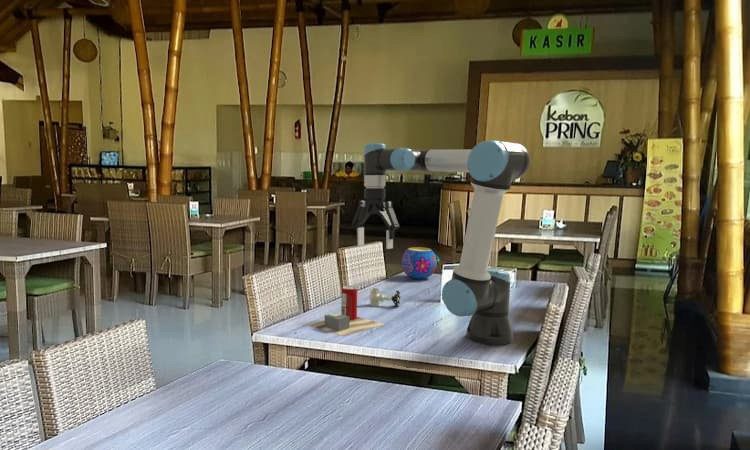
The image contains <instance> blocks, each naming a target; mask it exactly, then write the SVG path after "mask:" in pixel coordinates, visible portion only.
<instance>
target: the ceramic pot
mask: <svg viewBox="0 0 750 450" xmlns="http://www.w3.org/2000/svg"><path fill="white" fill-rule="evenodd" d="M439 264H440V258H439V256H438V255H436V254H435V252H434V251H433V250H432V249H431V248H428V247H409V248H407V249H406V250H405V251H404V253H403V255H402V258H401V267H402V270H403V272H404V273H405V275H406V276H408V277H409V278H412V279H415V280H423V279H424V280H425V279H427V278H430V277H431V276H432V275H433V274H434V272H435V270H436V268H437V266H438V265H439Z"/></svg>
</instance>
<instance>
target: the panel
mask: <svg viewBox="0 0 750 450" xmlns="http://www.w3.org/2000/svg"><path fill="white" fill-rule="evenodd" d="M324 323H325V319H323V320H321V321H317V322H313V323H308V324H307V326H311V327H314V328H317V329H320V330H323V331H325V332H329V333H333V334H335V335H339V336H343V337H346V336H350V335H353V334H357V333H359V332H364V331H366V330H367V331H368V330H370V329H374V328H377V327H381V326H384V325H386V324H385V323H382V322H378V321H374V320H371V319H368V318H365V317H361V316H357V319H356V320H355V321H350V323H349V328H348V329H345V330H341V331H337V330H333V329H330V328H327V327H324Z"/></svg>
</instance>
